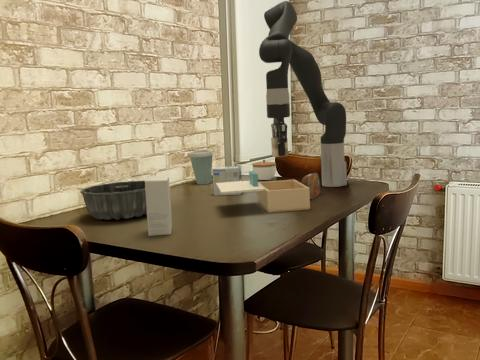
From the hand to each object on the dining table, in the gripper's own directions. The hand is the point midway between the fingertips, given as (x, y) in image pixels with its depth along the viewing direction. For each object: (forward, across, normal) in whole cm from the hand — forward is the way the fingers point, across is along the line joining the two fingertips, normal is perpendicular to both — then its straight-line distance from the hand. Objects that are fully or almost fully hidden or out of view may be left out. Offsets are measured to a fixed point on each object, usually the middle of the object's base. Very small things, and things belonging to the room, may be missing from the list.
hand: (280, 154), depth 161 cm
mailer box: (+17, 0, 0) cm, 17 cm away
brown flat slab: (+17, -10, +13) cm, 24 cm away
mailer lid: (+10, 0, -14) cm, 17 cm away
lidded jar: (+17, -58, +5) cm, 61 cm away
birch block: (0, 0, 0) cm, 0 cm away
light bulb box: (+18, -30, -15) cm, 38 cm away
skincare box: (+18, +22, -40) cm, 49 cm away
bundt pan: (+18, -6, -53) cm, 56 cm away
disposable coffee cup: (+18, -62, -23) cm, 69 cm away
